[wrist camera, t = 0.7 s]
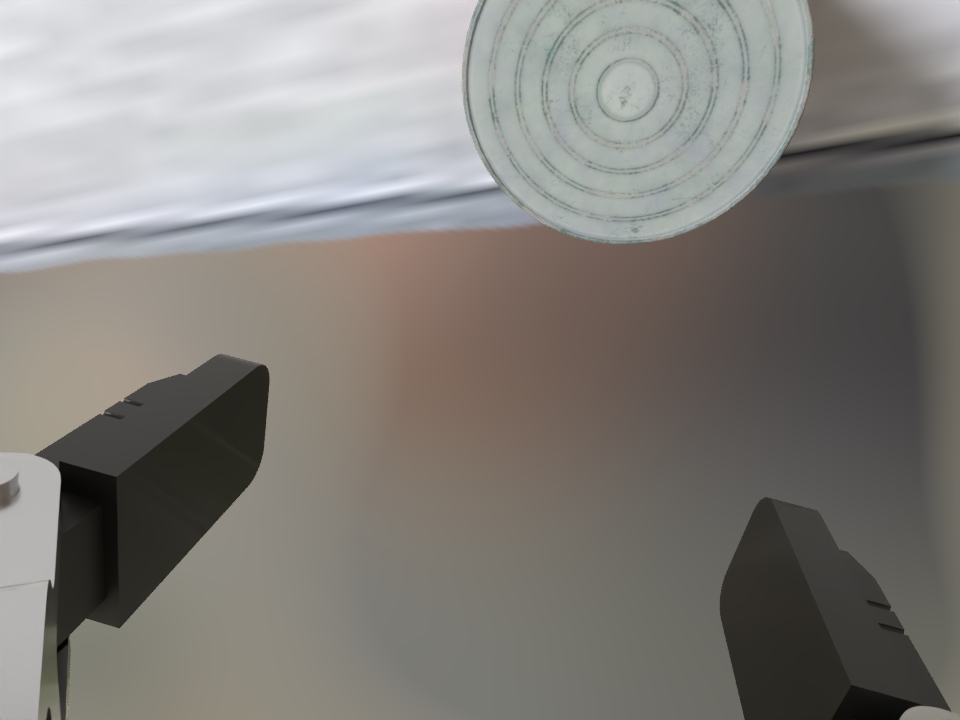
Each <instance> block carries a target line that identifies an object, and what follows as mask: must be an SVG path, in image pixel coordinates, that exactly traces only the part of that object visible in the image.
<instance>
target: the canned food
mask: <svg viewBox="0 0 960 720" xmlns="http://www.w3.org/2000/svg"><path fill="white" fill-rule="evenodd" d="M813 65H814V31H813V21H812V16H811V11H810V6H809V2H808V0H479V1H478V3H477V6H476V8H475V11H474V14H473V16H472V19H471V22H470V26H469V30H468V33H467V37H466V43H465V48H464V54H463V65H462V92H463V103H464V109H465V114H466V119H467V123H468V127H469V130H470V134H471V136H472V139H473V142H474V144H475V147H476V149H477V151H478V153H479V155H480V157H481V160H482V162H483V163H484V165H485V167H486V168H487V170H488V172H489V173H490V175H491V176H492V178H493V179H494V180H495V182H496V183H497V184H498V186H499V187H500V188H501V189H502V190H503V191H504V192H505V194H506V195H507V196H508V197H509V198H510V199H511V200H512V201H513V202H514V203H516V204H517V205H518V206H519V207H520V208H521V209H522V210H524V211H525V212H526V213H528V214H529V215H530V216H532V217H533V218H535V219H537V220H538V221H540V222H541V223H543V224H545V225H547V226H549V227H551V228H553V229H555V230H557V231H559V232H562V233H565V234H567V235H569V236H573V237H576V238H579V239H583V240H587V241H593V242H597V243H606V244H641V243H648V242H654V241H659V240H664V239H668V238H672V237H675V236H678V235H681V234H684V233H687V232H689V231H692V230H694V229H696V228H699V227H701V226H703V225H705V224H707V223H709V222H710V221H712V220H714V219H716V218H718V217H719V216H721V215H722V214H724V213H725V212H727V211H728V210H730V209H731V208H732V207H734V206H735V205H736V204H738V203H739V202H740V201H742V200H743V199H744V198H745V197H746V196H747V195H748V194H749V193H750V192H752V191H753V190H754V189H755V188H756V187H757V186H758V185H759V184H760V182H761V181H762V180H763V179H764V178H765V177H766V176H767V175H768V173H769V172H770V171H771V170H772V168H773V167H774V166H775V164H776V163H777V162H778V160H779V159H780V157H781V156H782V154H783V153H784V151H785V149H786V148H787V146H788V144H789V143H790V141H791V139H792V137H793V135H794V133H795V131H796V129H797V126H798V124H799V122H800V119H801V117H802V114H803V112H804V108H805V105H806V102H807V99H808V95H809V90H810V86H811V81H812V75H813Z"/></svg>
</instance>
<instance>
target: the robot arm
mask: <svg viewBox="0 0 960 720" xmlns="http://www.w3.org/2000/svg"><path fill="white" fill-rule="evenodd" d="M268 392H269V372H268V368H267V367H266V366H265V365H262V364H258V363H254V362H251V361H247V360H243V359H239V358H235V357H231V356H228V355H223V354H219V355H216V356H215V357H213V358H212V359H210V360H209V361H207V362H206V363H204V364H203V365H201V366H200V367H198V368H197V369H195V370H194V371H192V372H191V373H189V374H188V375H182V374H179V375H175V376H172V377H168V378H165V379H161V380H158V381H155V382H151V383H148V384H146V385H145V386H143V387H142V388H140V389H138V390H137V391H135V392H134V393H132V394H130V395H129V396H127V397H126V398H124V402H118V403H116V404H115V405H113V406H112V407H110V408H108V409H107V410H105V412H104V414H103V415H101V414H99V415H97V416H96V417H94V418H92V419H91V420H89V421H88V422H86V423H85V424H83V425H81V426H80V427H78V428H77V429H75V430H73V431H72V432H70V433H69V434H67V435H66V436H64V437H63V438H61V439H59V440H58V441H56V442H55V443H53V444H51V445H50V446H48V447H47V448H45V449H43V450H42V451H40V452H39V453H37V454H36V455H31V454H25V453H15V452H14V453H13V452H0V720H69V719H68V718H69V688H70V657H71V646H70V634H71V633H72V632H73V631H74V630H75V629H76V628H77V627H78V626H79V625H80V624H81V623H82V622H83V621H84V620H85V619H86V618H87V619H90V620H94V621H97V622H100V623H103V624H107V625H110V626H114V627H117V628H120V627H121V626H122V625H123V624H124V623H125V622H126V620H127V619H128V618H129V617H130V616H131V615H132V614H133V613H134V612H135V611H136V609H137V608H138V607H139V606H140V605H141V604H142V603H143V602H144V601H145V600H146V598H147V597H148V596H149V595H150V594H151V593H152V592H153V591H154V590H155V589H156V587H157V586H158V585H159V584H160V583H161V582H162V581H163V580H164V579H165V578H166V576H167V575H168V574H169V573H170V572H171V571H172V570H173V569H174V568H175V566H176V565H177V564H178V563H179V562H180V561H181V560H182V559H183V557H185V555H186V554H187V553H188V552H189V551H190V550H191V549H192V548H193V547H194V545H195V544H196V543H197V542H198V541H199V540H200V539H201V537H203V536H204V534H205V533H206V532H207V531H208V530H209V529H210V528H211V527H212V526H213V524H214V523H215V522H216V521H217V520H218V519H219V518H220V517H221V516H222V514H223V513H224V512H225V511H226V510H227V509H228V508H229V507H230V506H231V505H232V503H233V502H234V501H235V500H236V499H237V498H238V497H239V496H240V495H241V493H242V492H243V491H244V490H245V489H246V488H247V487H248V486H249V485H250V483H251V482H252V480H253V479H254V477H255V475H256V472H257V471H258V468H259V466H260V463H261V459H262V455H263V451H264V440H265V429H266V416H267V404H268ZM890 608H891V606H890V604H889V602H888V600H887V599H886V597H885V595H884V593H883V592H882V590H881V588H880V586H879V585H878V583H877V581H876V580H875V578H874V577H873V576H872V575H871V574H870V573H869V572H868V571H867V570H866V569H865V568H864V567H862V565H860V564H859V563H858V562H857V561H856V560H855V559H854V558H853V557H852V556H851V555H850V554H849V553H848V552H846V551H842V550H839V548H838V546H837V545H836V543H835V541H834V539H833V537H832V535H831V533H830V531H829V530H828V528H827V526H826V524H825V522H824V520H823V518H822V517H821V515H820V513H819V512H818V511H816V510H814V509H810V508H806V507H802V506H799V505H795V504H791V503H787V502H783V501H779V500H775V499H772V498H768V497H765V498H763V499H761V500H760V501H759V503H758V504H757V505H756V507H755V509H754V511H753V513H752V515H751V518H750V520H749V522H748V525H747V527H746V529H745V531H744V534H743V536H742V538H741V540H740V543H739V545H738V547H737V549H736V552H735V554H734V556H733V559H732V561H731V563H730V565H729V568H728V570H727V572H726V575H725V578H724V581H723V584H722V589H721V595H720V616H721V621H722V625H723V629H724V633H725V637H726V642H727V646H728V650H729V654H730V659H731V663H732V667H733V671H734V676H735V680H736V684H737V689H738V693H739V697H740V701H741V705H742V710H743V714H744V718H745V720H960V715H957V714H955V713H953V712H951V710H950V708H949V706H948V705H947V703H946V701H945V699H944V698H943V696H942V694H941V692H940V691H939V689H938V687H937V686H936V684H935V682H934V680H933V678H932V677H931V675H930V673H929V672H928V670H927V668H926V666H925V665H924V663H923V661H922V659H921V658H920V656H919V654H918V652H917V651H916V649H915V648H914V646H913V644H912V642H911V640H910V639H909V637H908V636H907V635H904V628H903V626H902V625H901V623H900V621H899V620H898V618H897V616H896V614H895V613H894V612H892V611H890Z"/></svg>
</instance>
